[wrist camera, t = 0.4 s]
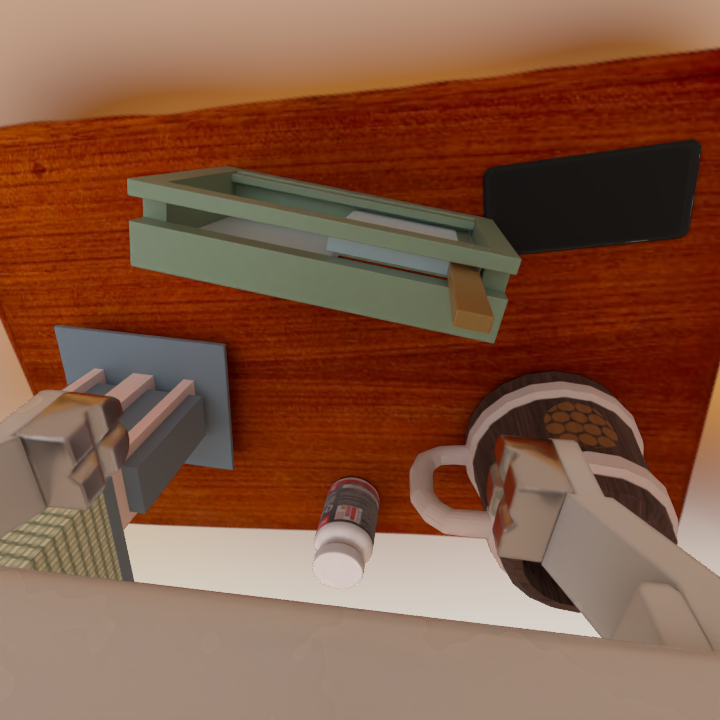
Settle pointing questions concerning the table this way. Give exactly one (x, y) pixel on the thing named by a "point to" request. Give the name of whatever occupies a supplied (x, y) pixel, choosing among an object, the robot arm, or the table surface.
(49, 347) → the table surface
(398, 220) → the window pane
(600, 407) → the mug
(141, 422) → the desk lamp
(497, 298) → the window frame
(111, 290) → the table surface
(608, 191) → the smartphone
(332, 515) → the pill bottle
